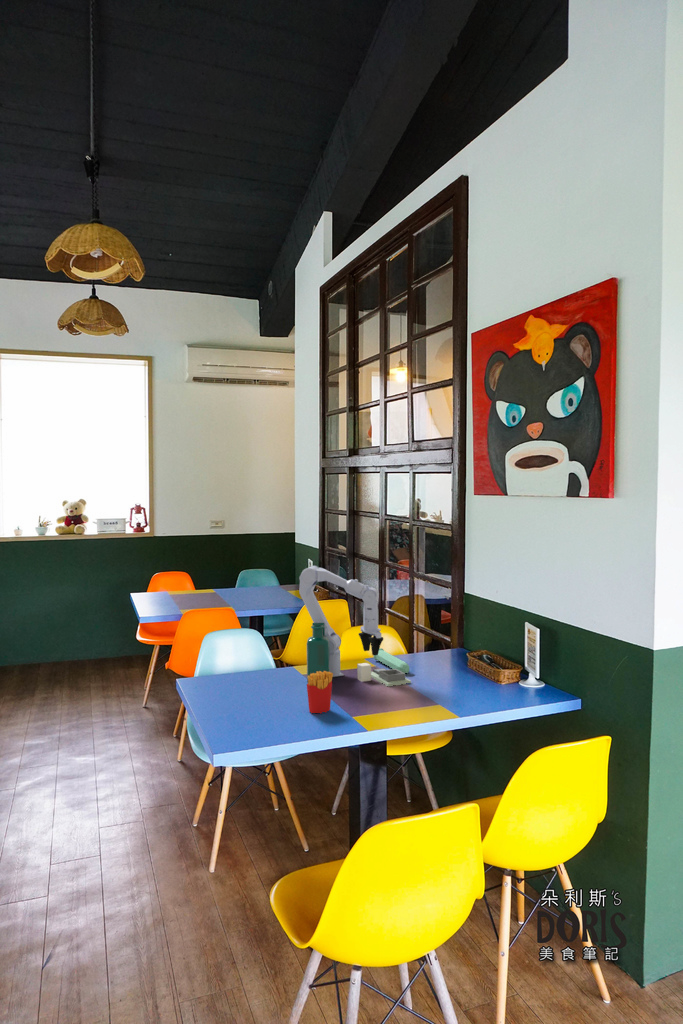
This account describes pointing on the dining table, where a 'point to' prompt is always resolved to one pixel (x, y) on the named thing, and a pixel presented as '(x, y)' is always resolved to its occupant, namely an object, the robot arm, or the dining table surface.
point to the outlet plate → (389, 676)
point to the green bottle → (318, 650)
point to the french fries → (319, 691)
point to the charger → (364, 672)
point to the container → (391, 661)
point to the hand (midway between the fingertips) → (370, 652)
